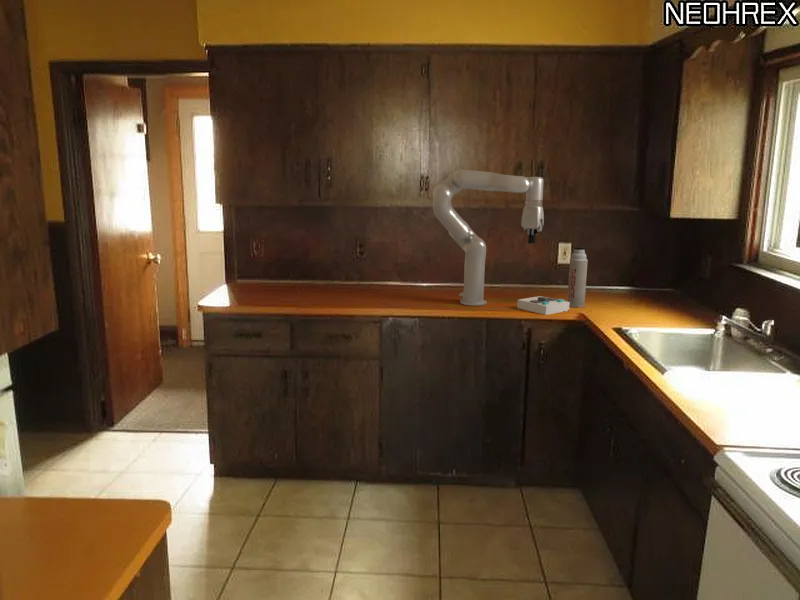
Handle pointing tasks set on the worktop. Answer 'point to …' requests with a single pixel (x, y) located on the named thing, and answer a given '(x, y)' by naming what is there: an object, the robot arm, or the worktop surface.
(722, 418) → the worktop surface
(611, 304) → the worktop surface
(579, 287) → the thermos bottle
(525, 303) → the switch unit
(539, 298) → the button
